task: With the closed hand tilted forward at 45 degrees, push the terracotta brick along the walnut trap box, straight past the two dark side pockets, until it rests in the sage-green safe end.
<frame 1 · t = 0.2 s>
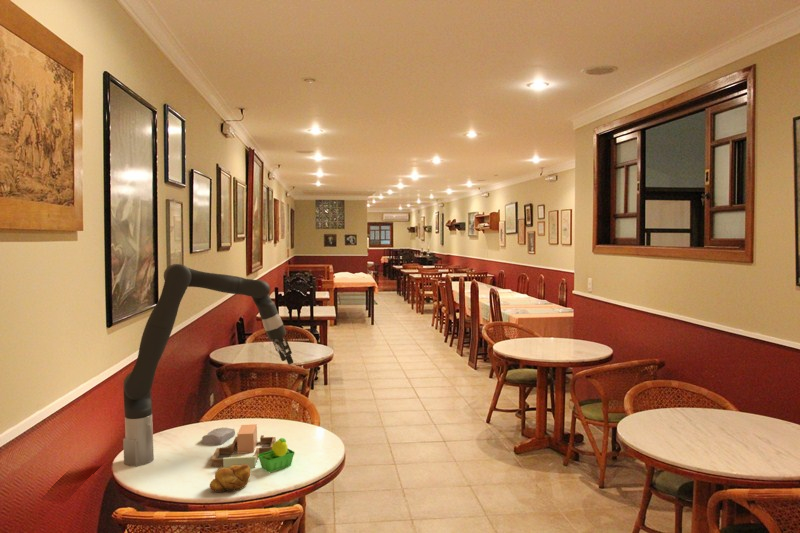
hand: (287, 361, 236), 31 cm above the table, tool tilted 20°, fingers open, 8 cm apart
safe end: (242, 461, 210), on the table
terracotta brick: (247, 447, 224), on the table
stone block: (217, 440, 234), on the table
trap box: (245, 454, 217), on the table
bread roll: (229, 488, 188), on the table
fruit basket: (277, 468, 204), on the table
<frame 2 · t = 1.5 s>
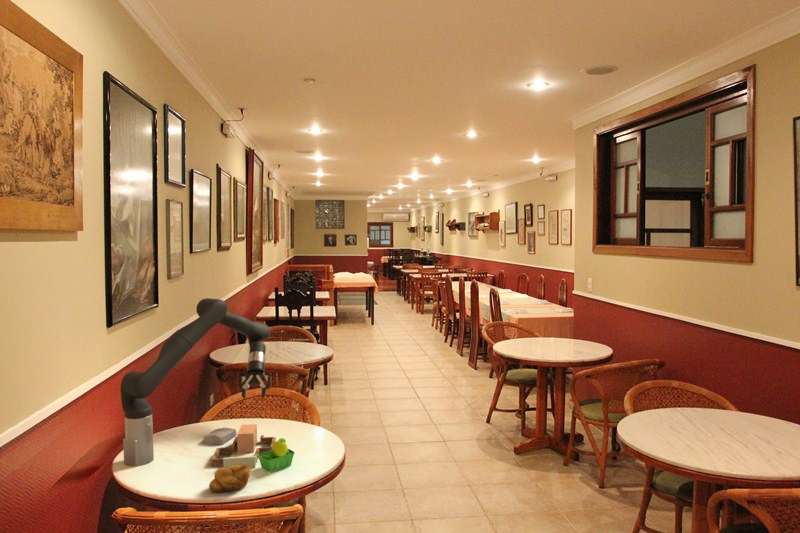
hand: (253, 397, 242), 15 cm above the table, tool tilted 45°, fingers open, 7 cm apart
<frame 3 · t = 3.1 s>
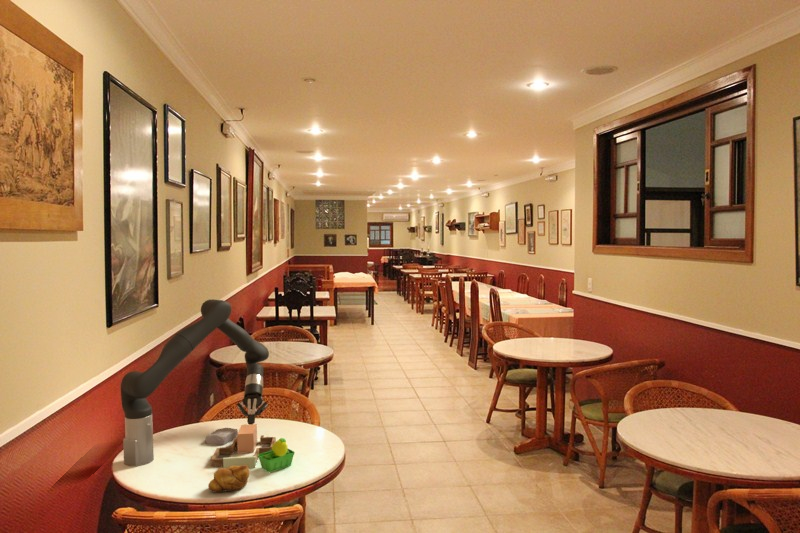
hand: (250, 424, 234), 6 cm above the table, tool tilted 45°, fingers closed
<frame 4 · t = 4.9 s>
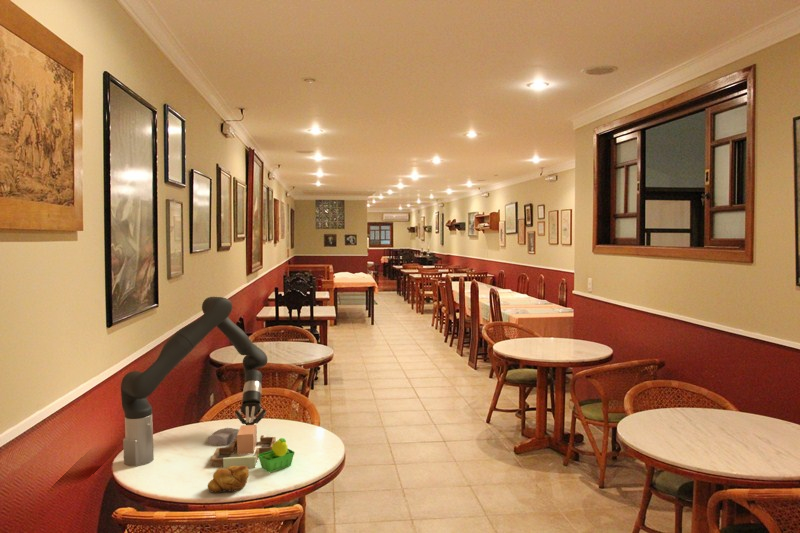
hand: (249, 432, 229), 4 cm above the table, tool tilted 45°, fingers closed
terracotta brick: (247, 448, 223), on the table, touching gripper
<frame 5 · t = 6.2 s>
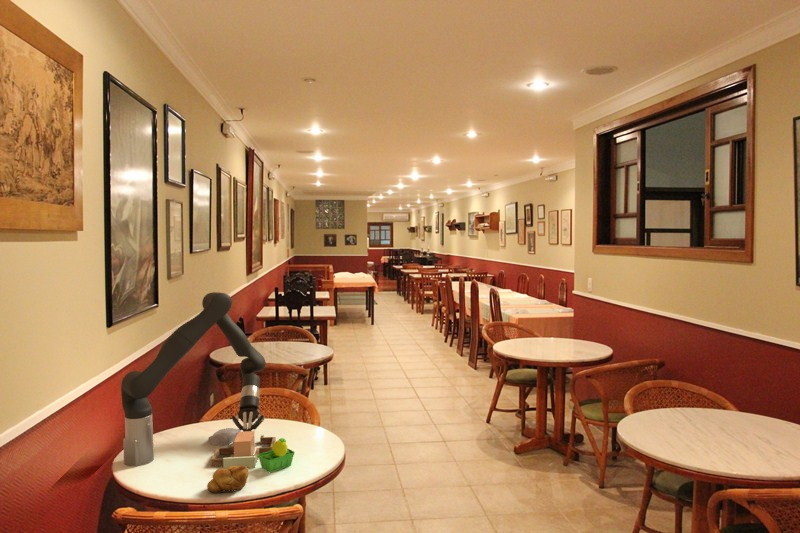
hand: (246, 439, 221), 4 cm above the table, tool tilted 45°, fingers closed
terracotta brick: (244, 455, 215), on the table, touching gripper
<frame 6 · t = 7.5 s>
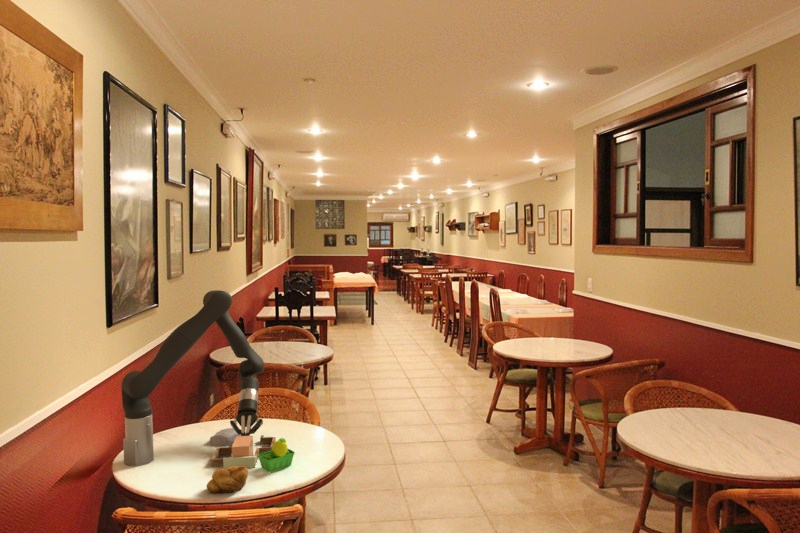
hand: (244, 443, 216), 4 cm above the table, tool tilted 45°, fingers closed
terracotta brick: (243, 461, 210), on the table, touching gripper
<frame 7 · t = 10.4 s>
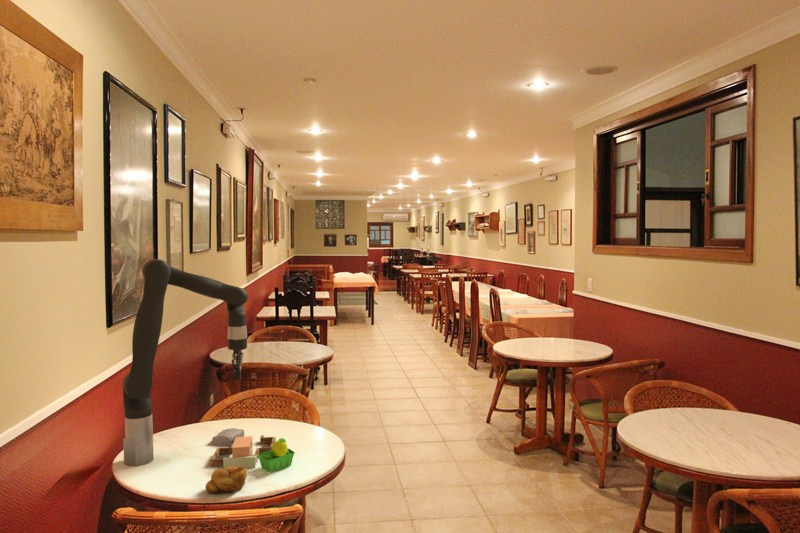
hand: (237, 379, 229), 25 cm above the table, tool pointing down, fingers closed
terracotta brick: (242, 461, 210), on the table
stone block: (227, 441, 233), on the table
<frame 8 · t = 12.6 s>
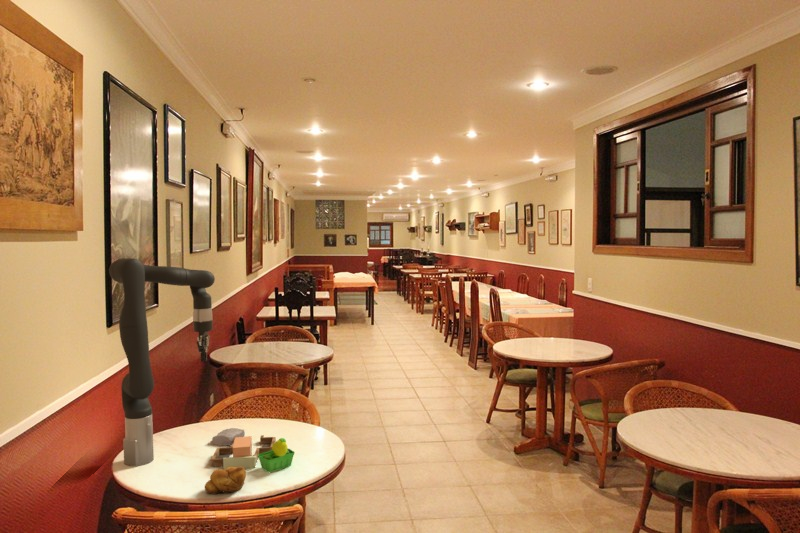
hand: (204, 361, 233), 32 cm above the table, tool pointing down, fingers closed
at the end: terracotta brick 0.3 cm from the safe end (horizontally); terracotta brick tilted 0° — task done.
